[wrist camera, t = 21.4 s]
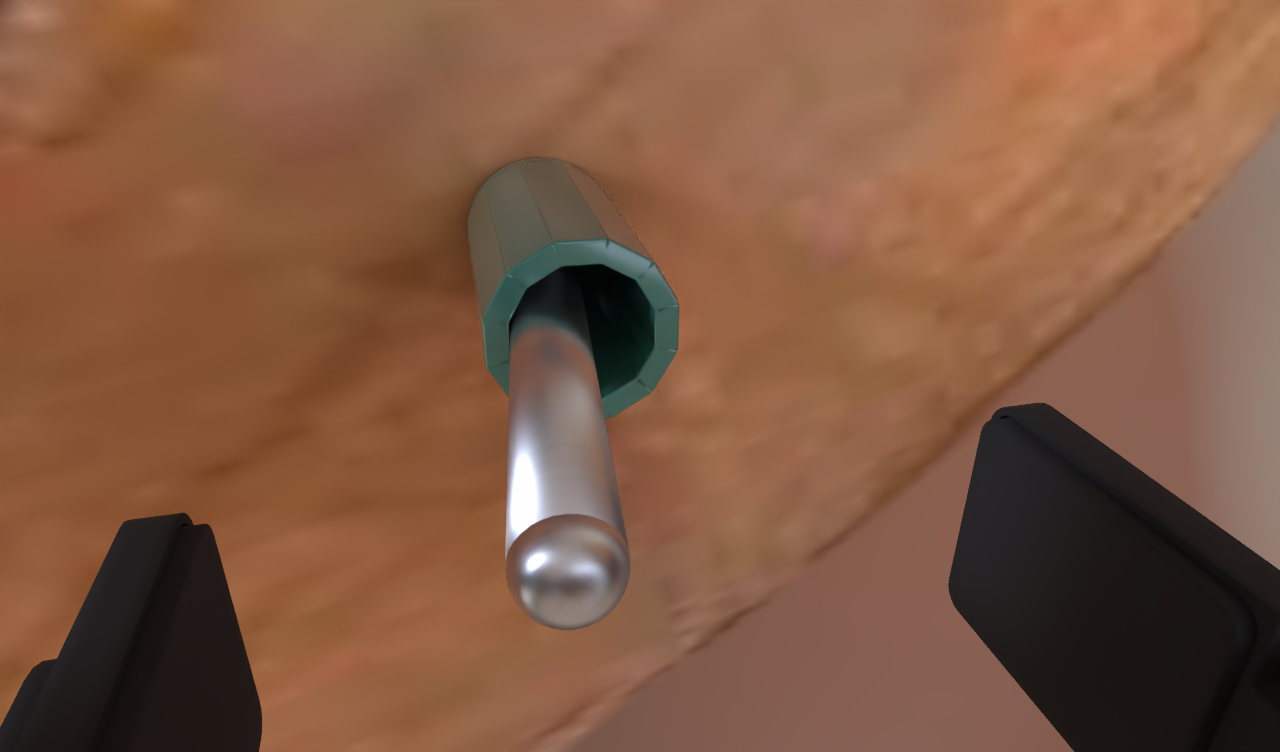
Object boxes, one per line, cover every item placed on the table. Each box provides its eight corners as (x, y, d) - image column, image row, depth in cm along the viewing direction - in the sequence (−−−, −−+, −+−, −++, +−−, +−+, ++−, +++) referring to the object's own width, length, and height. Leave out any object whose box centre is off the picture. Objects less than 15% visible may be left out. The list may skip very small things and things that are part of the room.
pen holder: (473, 302, 23) (491, 431, 17) (460, 160, 21) (475, 247, 15) (611, 291, 24) (677, 411, 18) (610, 153, 22) (682, 233, 16)
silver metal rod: (514, 263, 22) (508, 663, 10) (510, 207, 22) (499, 559, 9) (571, 261, 22) (638, 651, 10) (570, 205, 22) (638, 549, 9)
